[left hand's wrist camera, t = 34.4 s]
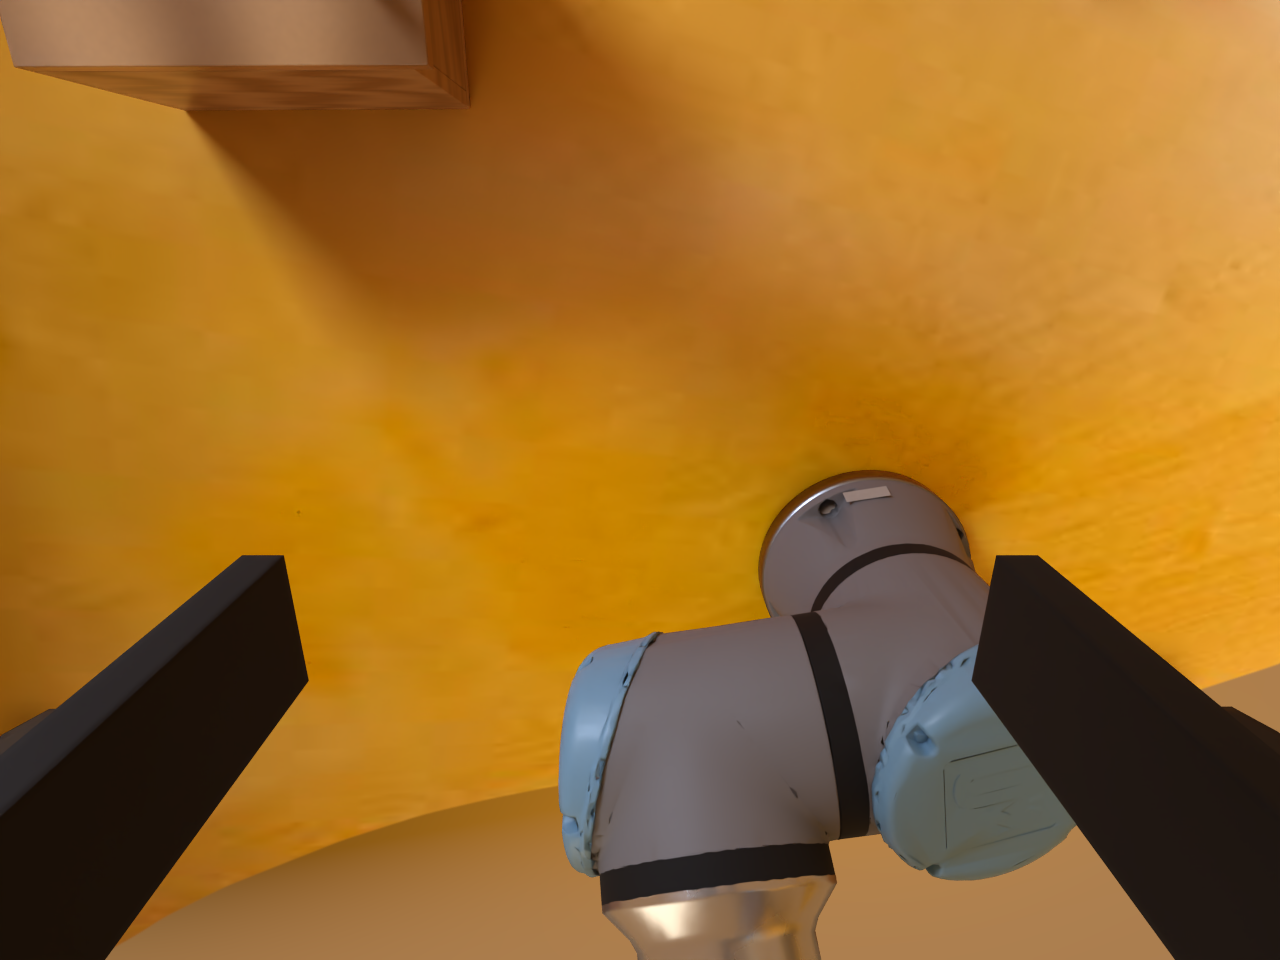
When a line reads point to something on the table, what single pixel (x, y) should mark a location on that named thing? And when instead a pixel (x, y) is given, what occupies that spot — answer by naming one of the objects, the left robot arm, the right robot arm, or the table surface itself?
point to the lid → (217, 35)
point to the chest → (308, 81)
